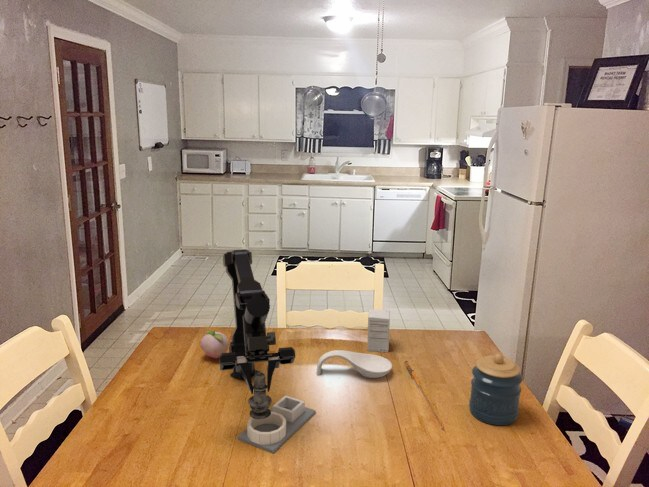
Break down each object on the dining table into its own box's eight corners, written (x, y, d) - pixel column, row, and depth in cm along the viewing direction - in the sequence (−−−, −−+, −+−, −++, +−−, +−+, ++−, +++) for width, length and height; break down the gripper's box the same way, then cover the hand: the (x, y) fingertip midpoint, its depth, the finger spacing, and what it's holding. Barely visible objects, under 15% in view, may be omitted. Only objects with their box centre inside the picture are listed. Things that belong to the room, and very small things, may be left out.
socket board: (282, 401, 149) (282, 389, 148) (315, 413, 144) (315, 400, 143) (237, 439, 132) (237, 425, 131) (273, 453, 127) (273, 439, 126)
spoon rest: (389, 365, 171) (390, 345, 170) (393, 383, 160) (394, 362, 158) (317, 364, 172) (317, 344, 170) (316, 382, 160) (316, 361, 158)
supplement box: (367, 341, 188) (369, 308, 184) (388, 343, 187) (390, 310, 183) (366, 351, 180) (367, 316, 177) (388, 352, 179) (389, 318, 176)
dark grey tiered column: (272, 419, 129) (271, 375, 126) (248, 420, 129) (246, 376, 126) (272, 406, 135) (271, 363, 132) (248, 407, 134) (247, 364, 131)
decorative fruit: (235, 356, 175) (234, 329, 173) (217, 366, 169) (216, 338, 166) (214, 349, 180) (213, 322, 178) (196, 359, 174) (195, 331, 171)
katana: (439, 434, 137) (440, 425, 136) (403, 365, 170) (404, 358, 169) (444, 434, 137) (445, 425, 136) (407, 365, 170) (408, 358, 170)
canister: (517, 405, 149) (524, 347, 144) (518, 430, 137) (525, 369, 132) (470, 396, 153) (475, 340, 148) (466, 421, 141) (472, 361, 136)
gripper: (218, 323, 127) (221, 388, 120) (294, 317, 131) (302, 379, 124) (218, 339, 137) (221, 399, 129) (289, 333, 141) (296, 391, 133)
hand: (260, 392), depth 129 cm, fingers closed on dark grey tiered column, 4 cm apart
